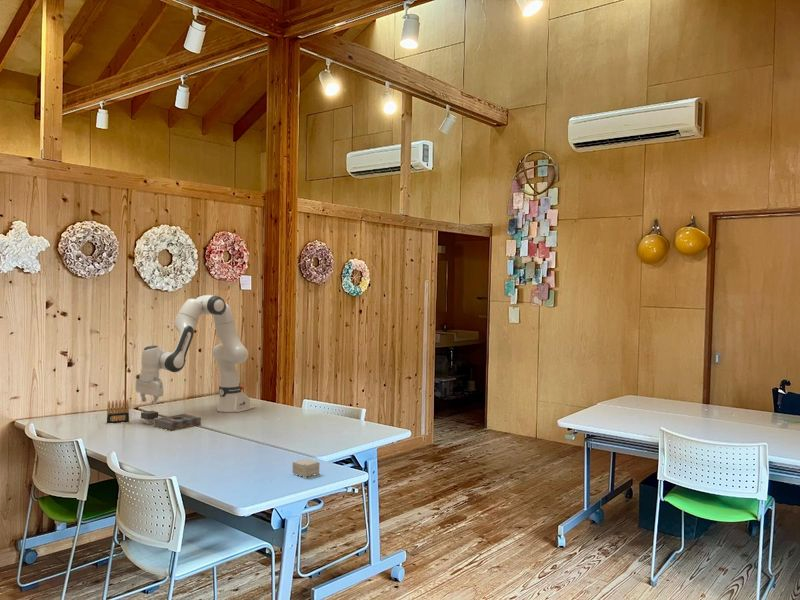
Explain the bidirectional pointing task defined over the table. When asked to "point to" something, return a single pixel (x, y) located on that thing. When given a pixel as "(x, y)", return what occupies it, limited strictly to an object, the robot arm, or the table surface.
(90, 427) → the table surface
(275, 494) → the table surface
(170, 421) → the socket board
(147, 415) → the plug
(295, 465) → the small box
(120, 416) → the ammunition clip
